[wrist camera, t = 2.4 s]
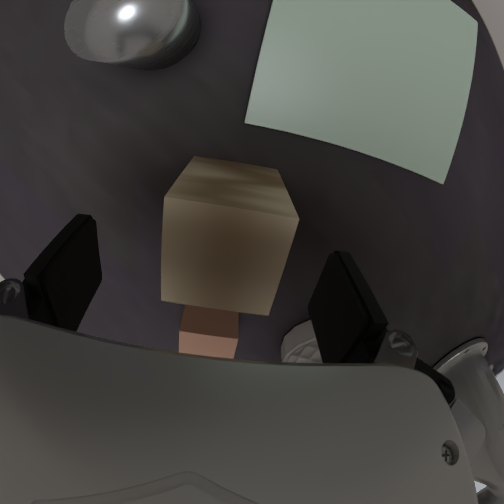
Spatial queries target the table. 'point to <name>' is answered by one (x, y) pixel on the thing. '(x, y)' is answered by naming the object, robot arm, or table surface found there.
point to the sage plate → (368, 77)
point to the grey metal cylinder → (132, 31)
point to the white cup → (301, 345)
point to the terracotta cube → (208, 332)
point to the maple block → (226, 236)
